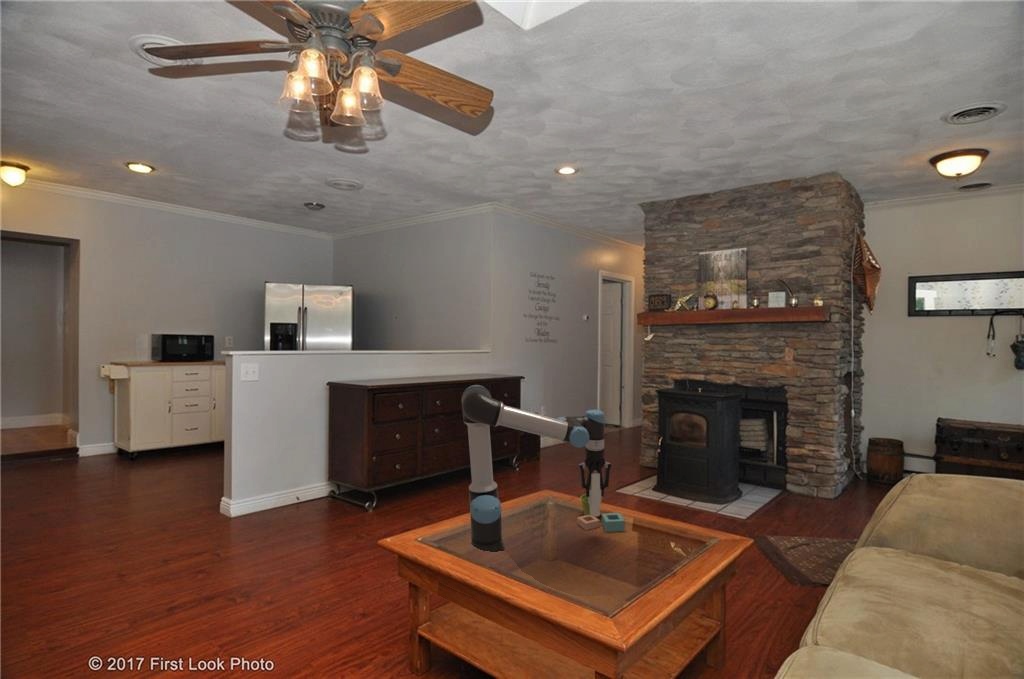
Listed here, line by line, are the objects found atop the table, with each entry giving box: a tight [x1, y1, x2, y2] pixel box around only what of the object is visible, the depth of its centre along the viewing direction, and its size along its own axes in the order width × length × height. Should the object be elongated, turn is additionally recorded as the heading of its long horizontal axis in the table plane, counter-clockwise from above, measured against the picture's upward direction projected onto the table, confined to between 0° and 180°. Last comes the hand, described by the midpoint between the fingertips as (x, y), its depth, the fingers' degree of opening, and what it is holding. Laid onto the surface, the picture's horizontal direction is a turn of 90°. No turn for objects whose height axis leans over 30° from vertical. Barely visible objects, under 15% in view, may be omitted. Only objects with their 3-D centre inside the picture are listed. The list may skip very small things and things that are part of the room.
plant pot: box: [579, 493, 603, 518], centre depth 248 cm, size 9×9×9 cm
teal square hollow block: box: [601, 512, 626, 533], centre depth 237 cm, size 8×8×4 cm
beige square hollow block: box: [576, 514, 601, 531], centre depth 240 cm, size 7×7×3 cm
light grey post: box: [590, 470, 601, 517], centre depth 228 cm, size 3×3×20 cm
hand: (594, 503), depth 228 cm, fingers closed on light grey post, 3 cm apart
